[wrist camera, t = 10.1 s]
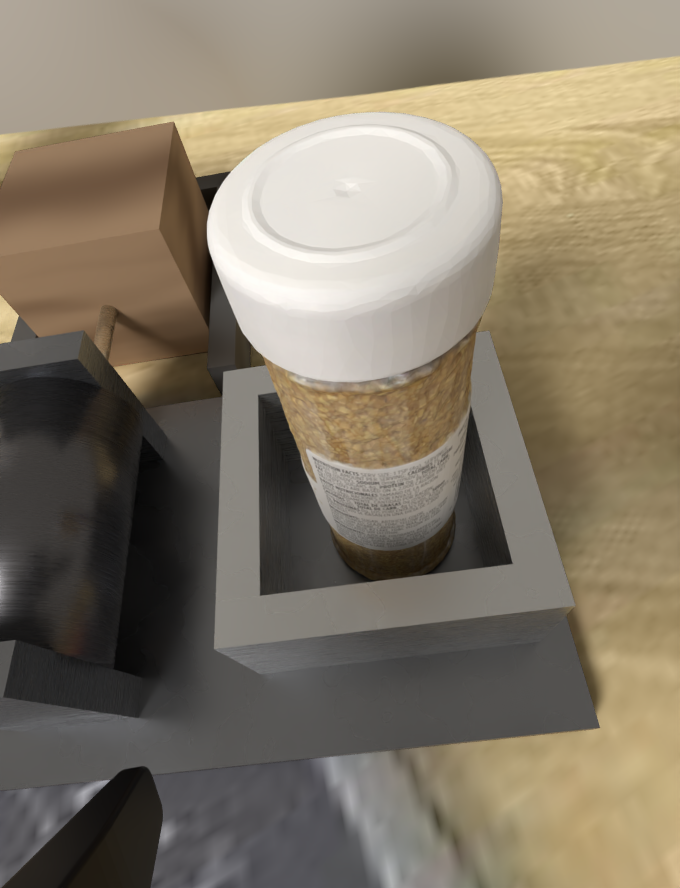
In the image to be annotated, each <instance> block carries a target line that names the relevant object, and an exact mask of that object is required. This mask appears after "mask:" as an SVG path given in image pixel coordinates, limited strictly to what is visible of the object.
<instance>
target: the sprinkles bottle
mask: <svg viewBox="0 0 680 888" xmlns="http://www.w3.org/2000/svg"><path fill="white" fill-rule="evenodd" d="M502 203H503V200H502V190H501V184H500V181H499V177H498V174H497V172H496V170H495V167H494V165H493V164H492V162H491V161H490V159H489V157H488V156H487V154H486V153H485V152H484V151H483V150H482V149H481V148H480V147H479V146H478V145H477V144H476V143H475V142H474V141H473V140H471V139H470V138H469V137H467V136H466V135H464V134H463V133H461V132H459V131H458V130H456V129H455V128H453V127H450V126H448V125H446V124H444V123H441V122H438V121H435V120H432V119H428V118H425V117H420V116H415V115H410V114H405V113H391V112H366V113H353V114H346V115H339V116H334V117H329V118H325V119H321V120H317V121H314V122H311V123H308V124H305V125H302V126H299V127H296V128H294V129H292V130H290V131H287V132H285V133H283V134H281V135H279V136H277V137H275V138H273V139H271V140H270V141H268V142H266V143H265V144H263V145H262V146H260V147H258V148H257V149H256V150H254V151H253V152H252V153H251V154H249V155H248V156H247V157H246V158H244V159H243V160H242V161H241V162H240V163H239V164H238V165H237V166H236V167H235V168H234V169H233V170H232V171H231V172H230V174H229V175H228V176H227V177H226V179H225V180H224V181H223V183H222V185H221V186H220V188H219V190H218V191H217V193H216V195H215V197H214V200H213V202H212V205H211V208H210V210H209V215H208V221H207V240H208V248H209V251H210V254H211V257H212V260H213V263H214V266H215V268H216V271H217V274H218V276H219V279H220V281H221V284H222V286H223V288H224V291H225V293H226V296H227V298H228V300H229V303H230V305H231V308H232V310H233V312H234V315H235V317H236V319H237V322H238V324H239V326H240V328H241V330H242V332H243V334H244V335H245V336H246V338H247V339H248V340H249V342H250V343H251V344H252V345H253V347H254V348H255V349H256V350H257V351H258V352H259V353H260V354H261V355H262V356H263V358H264V361H265V364H266V366H267V368H268V371H269V373H270V376H271V379H272V382H273V384H274V388H275V390H276V391H277V394H278V396H279V398H280V401H281V404H282V407H283V410H284V412H285V416H286V419H287V421H288V424H289V428H290V430H291V432H292V434H293V436H294V439H295V441H296V444H297V447H298V449H299V451H300V454H301V460H302V464H303V467H304V470H305V472H306V475H307V477H308V479H309V482H310V484H311V486H312V489H313V491H314V494H315V496H316V499H317V501H318V504H319V506H320V508H321V511H322V513H323V515H324V516H325V518H326V520H327V521H328V522H329V525H330V530H331V537H332V541H333V544H334V546H335V548H336V549H337V551H338V553H339V554H340V556H341V557H342V559H343V560H344V561H345V562H346V563H347V564H348V565H349V566H350V567H351V568H353V569H354V570H356V571H357V572H358V573H360V574H362V575H364V576H365V577H367V578H369V579H371V580H376V581H382V580H390V579H398V578H406V577H414V576H422V575H425V574H426V573H428V572H430V571H431V570H433V569H434V568H435V567H436V566H437V565H438V564H439V563H440V562H441V561H442V560H443V559H444V557H445V556H446V554H447V552H448V551H449V549H450V547H451V545H452V542H453V540H454V533H455V528H456V523H455V518H456V516H455V511H454V507H455V505H456V502H457V498H458V493H459V487H460V479H461V472H462V464H463V456H464V449H465V441H466V433H467V426H468V419H469V413H470V406H471V398H472V383H471V372H472V364H473V353H474V347H475V341H476V331H477V329H478V326H479V324H480V322H481V318H482V315H483V313H484V311H485V309H486V307H487V304H488V302H489V300H490V297H491V294H492V289H493V284H494V278H495V271H496V263H497V256H498V249H499V239H500V227H501V216H502Z"/></svg>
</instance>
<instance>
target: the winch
mask: <svg viewBox="0 0 680 888" xmlns="http://www.w3.org/2000/svg"><path fill="white" fill-rule="evenodd" d="M117 313H118V312H117V309H116V308H114V307H113V306H110V305H104V306H102V307H101V308H100V313H99V318H98V323H97V328H96V333H95V338H94V342H93V341H92V340H91V339H90V337H89V336H88V335H87V334H86V332H85V331H84V330H82V331H76V332H70V333H63V334H57V335H51V336H45V337H39V338H33V339H27V340H21V341H14V342H8V343H2V344H0V791H7V790H16V789H26V788H36V787H45V786H55V785H64V784H74V783H84V782H93V781H103V780H111V779H112V778H113V777H115V776H116V775H117V774H118V773H119V772H120V771H122V770H124V769H128V768H134V767H140V766H145V767H147V768H148V769H149V770H150V772H151V774H152V775H160V774H170V773H180V772H189V771H199V770H208V769H218V768H228V767H237V766H247V765H256V764H266V763H275V762H285V761H295V760H304V759H314V758H323V757H333V756H343V755H352V754H362V753H371V752H381V751H391V750H400V749H410V748H419V747H429V746H439V745H448V744H458V743H467V742H477V741H486V740H496V739H506V738H515V737H525V736H534V735H544V734H554V733H563V732H573V731H582V730H591V729H597V728H600V726H599V723H598V719H597V716H596V713H595V709H594V706H593V703H592V700H591V696H590V693H589V690H588V686H587V683H586V680H585V676H584V673H583V670H582V666H581V663H580V660H579V657H578V653H577V650H576V647H575V643H574V640H573V637H572V633H571V630H570V627H569V623H568V620H567V617H566V615H567V614H568V613H569V612H570V611H571V610H572V609H573V608H574V607H575V606H576V605H575V602H574V599H573V596H572V592H571V589H570V586H569V583H568V580H567V576H566V573H565V570H564V567H563V564H562V561H561V557H560V554H559V551H558V548H557V545H556V541H555V538H554V535H553V532H552V529H551V526H550V522H549V519H548V516H547V513H546V510H545V507H544V503H543V500H542V497H541V494H540V491H539V487H538V484H537V481H536V478H535V475H534V472H533V468H532V465H531V462H530V459H529V456H528V452H527V449H526V446H525V443H524V440H523V437H522V433H521V430H520V427H519V424H518V421H517V417H516V414H515V411H514V408H513V405H512V402H511V398H510V395H509V392H508V389H507V386H506V382H505V379H504V376H503V373H502V370H501V367H500V363H499V360H498V357H497V354H496V351H495V347H494V344H493V341H492V338H491V335H490V332H489V331H483V332H477V333H476V341H475V347H474V353H473V364H472V372H471V383H472V398H471V406H470V413H469V419H468V426H467V433H466V441H465V449H464V456H463V464H462V472H461V479H460V487H459V493H458V498H457V502H456V505H455V507H454V511H455V516H456V518H455V523H456V528H455V533H454V540H453V542H452V545H451V547H450V549H449V551H448V552H447V554H446V556H445V557H444V559H443V560H442V561H441V562H440V563H439V564H438V565H437V566H436V567H435V568H434V569H433V570H431V571H430V572H428V573H426V574H425V575H422V576H414V577H406V578H398V579H390V580H382V581H376V580H371V579H369V578H367V577H365V576H364V575H362V574H360V573H358V572H357V571H356V570H354V569H353V568H351V567H350V566H349V565H348V564H347V563H346V562H345V561H344V560H343V559H342V557H341V556H340V554H339V553H338V551H337V549H336V548H335V546H334V544H333V541H332V537H331V530H330V525H329V522H328V521H327V520H326V518H325V516H324V515H323V513H322V511H321V508H320V506H319V504H318V501H317V499H316V496H315V494H314V491H313V489H312V486H311V484H310V482H309V479H308V477H307V475H306V472H305V470H304V467H303V464H302V460H301V454H300V451H299V449H298V447H297V444H296V441H295V439H294V436H293V434H292V432H291V430H290V428H289V424H288V421H287V419H286V416H285V412H284V410H283V407H282V404H281V401H280V398H279V396H278V394H277V391H276V390H275V388H274V384H273V382H272V379H271V376H270V373H269V371H268V368H267V366H266V365H264V366H258V367H251V368H245V369H238V370H232V371H225V372H223V397H217V398H210V399H204V400H197V401H191V402H184V403H177V404H171V405H164V406H158V407H151V408H144V406H143V405H142V404H141V402H140V401H139V400H138V399H137V397H136V396H135V395H134V394H133V392H132V391H131V390H130V388H129V387H128V386H127V385H126V383H125V382H124V381H123V379H122V378H121V377H120V376H119V374H118V373H117V372H116V371H115V369H114V368H113V367H112V365H111V364H110V363H109V358H110V352H111V346H112V341H113V335H114V330H115V324H116V319H117Z"/></svg>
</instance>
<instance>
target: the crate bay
mask: <svg viewBox="0 0 680 888" xmlns="http://www.w3.org/2000/svg"><path fill="white" fill-rule="evenodd" d="M229 174H230V172H225V173H219V174H214V175H208V176H203V177H197V178H196V177H195V175H194V172H193V170H192V167H191V165H190V162H189V159H188V157H187V154H186V152H185V149H184V146H183V144H182V141H181V139H180V136H179V134H178V131H177V128H176V126H175V123H174V122H169V123H164V124H158V125H153V126H148V127H142V128H137V129H132V130H127V131H121V132H116V133H111V134H105V135H100V136H95V137H89V138H84V139H79V140H73V141H68V142H63V143H58V144H52V145H47V146H42V147H36V148H31V149H26V150H20V151H15V154H14V156H13V158H12V161H11V163H10V166H9V168H8V171H7V173H6V176H5V178H4V181H3V183H2V186H1V188H0V295H1V296H2V297H3V298H4V299H5V300H6V301H7V303H8V304H9V305H10V306H11V307H12V308H13V309H14V310H15V311H16V313H17V314H18V315H19V317H18V321H17V324H16V327H15V330H14V333H13V337H12V340H11V342H14V341H21V340H27V339H33V338H39V337H45V336H51V335H57V334H63V333H70V332H76V331H82V330H84V331H85V332H86V334H87V335H88V336H89V337H90V339H91V340H92V341H93V342H94V338H95V333H96V328H97V323H98V318H99V313H100V308H101V307H102V306H104V305H110V306H113V307H114V308H116V309H117V312H118V313H117V319H116V324H115V330H114V335H113V341H112V346H111V352H110V358H109V363H110V364H111V365H112V367H114V366H120V365H126V364H133V363H139V362H145V361H152V360H158V359H164V358H171V357H177V356H183V355H190V354H196V353H202V352H208V360H207V369H208V371H209V373H210V375H211V377H212V379H213V380H214V382H215V384H216V386H217V388H218V390H219V391H220V393H221V395H222V397H223V372H225V371H232V370H238V369H245V368H250V342H249V340H248V339H247V338H246V336H245V335H244V334H243V332H242V330H241V328H240V326H239V324H238V322H237V319H236V317H235V315H234V312H233V310H232V308H231V305H230V303H229V300H228V298H227V296H226V293H225V291H224V288H223V286H222V284H221V281H220V279H219V276H218V274H217V271H216V268H215V266H214V263H213V260H212V257H211V254H210V251H209V248H208V240H207V221H208V215H209V210H210V208H211V205H212V202H213V200H214V197H215V195H216V193H217V191H218V190H219V188H220V186H221V185H222V183H223V181H224V180H225V179H226V177H227V176H228V175H229Z"/></svg>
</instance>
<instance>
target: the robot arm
mask: <svg viewBox="0 0 680 888" xmlns="http://www.w3.org/2000/svg"><path fill="white" fill-rule="evenodd" d="M162 821H163V810H162V804H161V801H160V798H159V795H158V792H157V789H156V786H155V783H154V780H153V777H152V774H151V772H150V770H149V769H148V768H147V767H145V766H140V767H134V768H128V769H124V770H122V771H120V772H119V773H118V774H117V775H116V776H115V777H113V778H112V779H111V780H110V781H109V782H108V783H107V784H106V785H105V786H104V787H103V788H102V789H101V790H100V791H99V792H98V793H97V794H96V795H95V796H94V797H93V798H92V799H91V800H90V801H89V802H88V803H87V804H86V805H85V806H84V807H83V808H82V809H81V810H80V811H79V812H78V813H77V814H76V815H75V816H74V817H73V818H72V819H71V820H70V821H69V822H68V823H67V824H66V825H65V826H64V827H63V828H62V829H61V830H60V831H59V832H58V833H57V834H56V835H55V836H54V837H53V838H52V839H51V840H50V841H48V842H47V843H46V844H45V845H44V846H43V847H42V848H41V849H40V850H39V851H38V852H37V853H36V854H35V855H34V856H33V857H32V858H31V859H30V860H29V861H28V862H27V863H26V864H25V865H24V866H23V867H22V868H21V869H20V870H19V871H18V872H17V873H16V874H15V875H14V876H13V877H12V878H11V879H10V880H9V881H8V882H7V883H6V884H5V885H4V886H3V887H2V888H150V887H151V881H152V876H153V871H154V865H155V860H156V854H157V849H158V843H159V838H160V832H161V827H162Z"/></svg>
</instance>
